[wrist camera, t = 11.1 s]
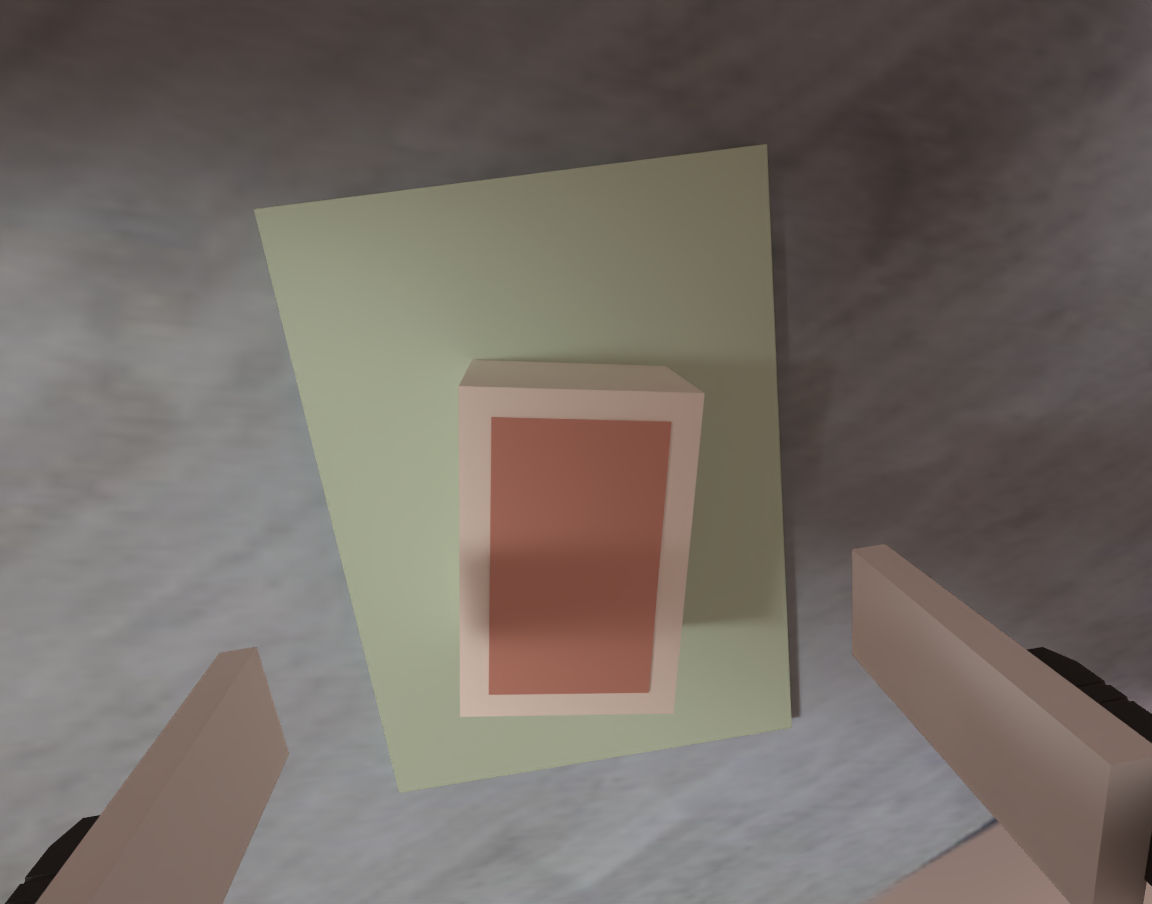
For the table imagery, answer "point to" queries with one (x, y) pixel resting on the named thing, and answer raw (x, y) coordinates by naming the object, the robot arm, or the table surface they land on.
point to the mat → (539, 334)
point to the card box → (573, 536)
